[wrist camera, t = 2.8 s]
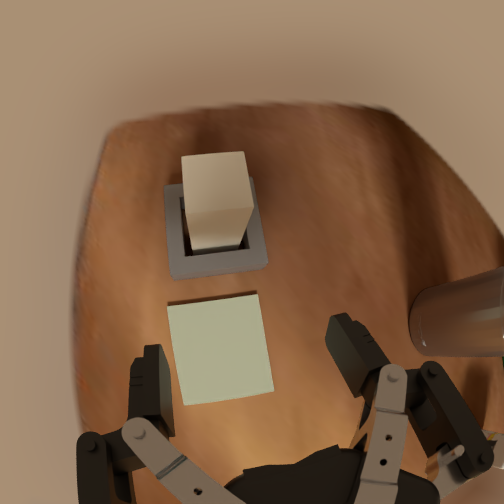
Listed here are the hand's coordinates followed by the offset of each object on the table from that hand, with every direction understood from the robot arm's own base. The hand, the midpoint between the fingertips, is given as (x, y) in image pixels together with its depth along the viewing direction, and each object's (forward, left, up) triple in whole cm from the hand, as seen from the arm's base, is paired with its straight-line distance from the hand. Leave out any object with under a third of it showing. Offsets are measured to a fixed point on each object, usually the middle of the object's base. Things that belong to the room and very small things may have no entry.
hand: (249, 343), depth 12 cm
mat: (+1, +2, -15) cm, 15 cm away
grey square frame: (0, -10, -15) cm, 18 cm away
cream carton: (0, -10, -15) cm, 18 cm away
